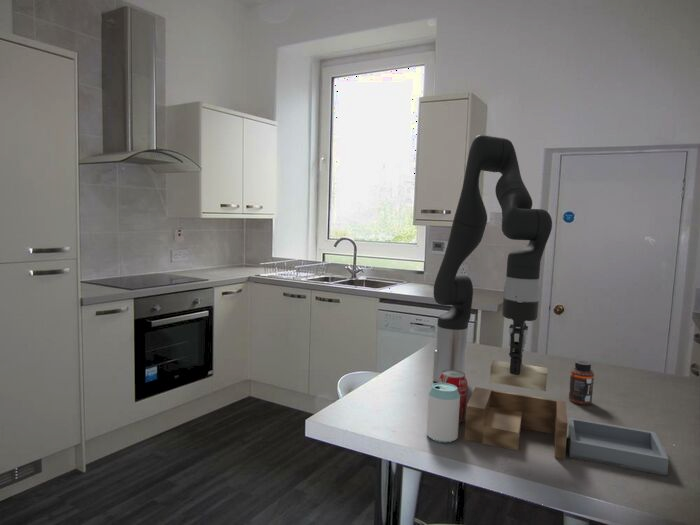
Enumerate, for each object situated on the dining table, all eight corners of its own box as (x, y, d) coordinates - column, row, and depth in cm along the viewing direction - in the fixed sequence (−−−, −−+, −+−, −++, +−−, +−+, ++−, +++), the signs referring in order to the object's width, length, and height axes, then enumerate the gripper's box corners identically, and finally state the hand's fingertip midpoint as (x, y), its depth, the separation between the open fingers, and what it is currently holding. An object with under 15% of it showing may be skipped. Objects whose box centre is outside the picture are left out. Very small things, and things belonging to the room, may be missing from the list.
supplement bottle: (594, 406, 136) (597, 366, 135) (571, 404, 137) (574, 364, 136) (588, 399, 142) (591, 360, 141) (566, 396, 143) (569, 358, 142)
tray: (569, 456, 106) (570, 441, 105) (567, 431, 119) (568, 417, 118) (667, 475, 99) (668, 459, 99) (653, 446, 112) (654, 432, 112)
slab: (489, 382, 113) (490, 365, 112) (491, 376, 117) (493, 360, 117) (545, 391, 108) (547, 373, 108) (546, 384, 113) (547, 367, 112)
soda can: (433, 414, 126) (435, 368, 125) (460, 414, 127) (462, 368, 126) (440, 425, 119) (443, 377, 118) (469, 425, 120) (471, 377, 119)
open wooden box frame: (464, 439, 112) (466, 405, 111) (473, 417, 125) (475, 387, 124) (564, 459, 104) (567, 423, 104) (563, 433, 117) (565, 401, 116)
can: (442, 447, 108) (445, 394, 107) (420, 435, 114) (422, 384, 113) (464, 439, 112) (467, 388, 111) (441, 428, 118) (443, 379, 117)
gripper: (506, 291, 119) (501, 360, 121) (500, 300, 106) (495, 377, 107) (539, 294, 116) (533, 365, 118) (537, 304, 103) (531, 383, 105)
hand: (515, 370), depth 113 cm, fingers closed on slab, 4 cm apart
